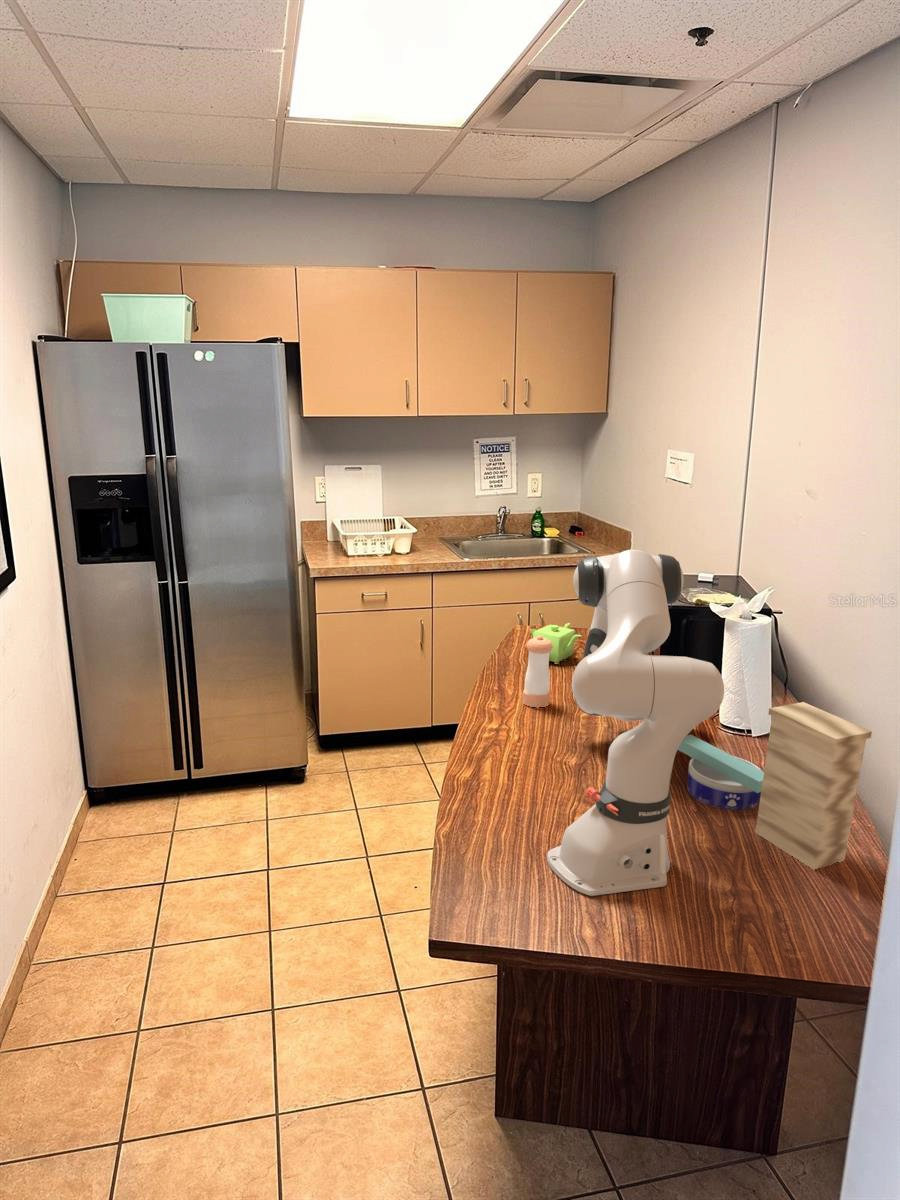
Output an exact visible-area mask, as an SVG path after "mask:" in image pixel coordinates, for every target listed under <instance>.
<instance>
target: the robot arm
mask: <svg viewBox="0 0 900 1200" xmlns="http://www.w3.org/2000/svg"><path fill="white" fill-rule="evenodd" d="M572 585H573V589H574V592H575V595H576V596H577V599H578V600H577V601H578V602H580V604H582V605H583V606H587V607H593V608H594V612H593V616H592V621H591V624H590V627H589V632H588V635H587V639H586V641H585V645H584V652H583V657H582V659H581V660H580V661H579V662H578V663H577V665H576V667H575V668H574V671H573V673H572V679H571V690H572V695H573V696H574V697H573V698H574V701H575V704H576V706H577V708H579V710H580V711H581V712H583V713H584V714H587V715H588V716H589V715H590V716H593V717H608V718H615V719H617V720H619V721H622V722H623V721H624V722H637V721H641V722H640V723H638V725H637V726H635V727H633V728H631V729H629V730H627V731H625V732H623V733H620V734H619V735H618V736H617V737H616V738H614V740H613V742H612V743H611V744H610V745H609V748H608V754H607V765H606V776H605V781H604V782H603V784H602V786H601V788H600V791H598V790H596V789H595V788H594V787H592V786H590V787H588V788H587V789H586V790H585V793H584V794H585V796H586V798H588V799H590V800H591V802H595V803H594V805H593V806H591V807H590V808H589V809H588V810H587V811H585V812H584V813H583V814H582V815H580V817H578V818H577V819H576V820H575V821H573V822H572V823H571V824H570V825H569V826H567V828H566V829H565V830H564V832H563V836H562V839H561V843H560V845H558V846H556V847H554V848H551V849H549V850H548V851H547V853H546V860H547V864H548V866H549V867H550V869H551V870H552V871H553V873H554V874H555V875H556V876H557V877H558V878H559V879H560V880H562V881H563V882H564V883H565V884H566V885H567V886H569V887H571V888H572V889H574V890H576V891H577V892H578V893H582V894H584V895H587V896H589V897H593V896H602V895H609V894H617V893H622V892H623V893H624V892H631V891H639V890H647V889H655V888H662V887H666V886H667V885H668V877H667V873H668V872H669V871H670V868H671V861H670V856H669V852H668V851H669V850H668V839H667V817H668V815H669V814H670V808H671V797H672V794H671V790H670V784H671V778H672V777H671V776H672V771H673V766H674V761H675V757H676V754H677V753H678V751H679V750H678V748H679V746H680V744H681V743H682V741H683V740H684V738H685V737H686V736H688V735H689V733H691V731H693V730H694V728H695V727H697V726H698V725H700V724H701V723H702V722H704V721H705V720H707V719H710V718H711V717H712V716H714V715H715V714H716V712H717V711H718V710H719V709H720V707H721V706H722V703H723V700H724V698H725V697H724V696H725V684H724V680H723V677H722V675H721V673H720V671H719V669H718V668H717V667H716V666H715V665H714V664H713V663H712V662H709V661H707V660H701V659H697V658H694V657H688V656H677V655H675V656H674V655H656V654H650V653H652V652H653V651H655V650H657V649H659V647H660V646H661V645H663V644H664V643H665V642H666V640H667V639H668V637H670V633H671V625H672V624H671V617H670V612H669V611H670V610H669V606H668V605H671V604H675V603H676V602H677V601H678V600H679V599H680V597H681V593H682V591H683V588H684V572H683V569H682V567H681V565H680V562H679V561H678V560H677V559H676V558H675V557H674V556H671V555H668V554H662V553H659V554H657V555H653V554H649V553H648V552H646V551H644V550H641V549H634V548H633V549H627V550H623V551H621V552H617V553H613V554H607V555H601V556H596V555H592V556H587V557H584V558H582V559H580V561H578V563H577V564H576V568H575V569H574V573H573V578H572Z"/></svg>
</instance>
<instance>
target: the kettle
mask: <svg viewBox="0 0 900 1200" xmlns="http://www.w3.org/2000/svg"><path fill="white" fill-rule="evenodd" d="M570 625H571V623H570V622H568V623H565V624H564V626H559V625H557V624H547V625H545V626H543V627H541V628H539V629H536V628H532V629H530V630H529V632H530V633H531V636H532V638H536V637H538V636H542V637H543V638H546V639H548V640H550V641H551V643H552V645H553V648H552V650H551V652H549V662H554V663H559V664H560V662H561V661H564V660H563V659H566V658H567V659H568V658H569V657H571V656H572V655H574V647H575V643H576V641H577V639H578V638H580V637H582V636H583V635H581V634H575V633H576V630H575V629H572V628H569V627H570Z"/></svg>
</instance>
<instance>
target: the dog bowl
mask: <svg viewBox="0 0 900 1200" xmlns="http://www.w3.org/2000/svg"><path fill="white" fill-rule="evenodd" d="M733 756H734V755H733ZM734 757H736V758H738V759H740V760H742V761H744V762H746V763H747V764H749V765H751V766H753V767H755V768H757V769H759V770H761V771H762V769H761V768H760V767H759V766H758V765H756V764H754V763H752V762H750V761H749V760H746V759H745V758H741V757H738V756H734ZM686 783H687V784H686V789H687V792H688V793H689V795H690V796H692V797H693V798H694V799H695V800H696V801H698V802H701V803H702V802H703V804H704V803H705V805H707V806H709V805H710V806H709V807H713V806H714V807H713V808H716V807H717V809H720V808H722V810H726V809H729V810H728V811H745V810H751V809H753V808H755V807H757V806H758V805H759V804H760V797H761V792H759V793H756V792H755V791H753V790H751V789H749V788H747V787H745V786H743V785H742V784H740V783H738V782H736V781H734V780H732V779H731V778H729V777H727V776H725V775H723V774H721V773H720V772H718V771H716V770H714V769H712V768H710V767H709V766H707V765H705V764H703V763H701V762H699V761H698V760H696V759H694V758H692V757H691V759H690V760H689V762H688V771H687V781H686Z"/></svg>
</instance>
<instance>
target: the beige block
mask: <svg viewBox="0 0 900 1200" xmlns="http://www.w3.org/2000/svg"><path fill="white" fill-rule="evenodd" d="M768 715H769V716H771V721H770V728H769V735H768V743H767V749H766V756H765V762H764V763H765V764H764V771H763V772H764V776H763V783H762V790H761V797H760V801H759V803H758V805H759V806H758V812H757V819H756V824H755V832H754V833H755V834H756V835H758V836H760V837H762V839H765V840H766V841H767V842H769V843H770V844H773V846H775V847H777V848H778V849H780V850H781V849H782V851H783V852H785V853H786V854H788V855H789V856H791V857H792V856H793V857H792V858H794V859H795V858H796V860H797V859H798V860H799V861H798V860H797V861H798V862H800V863H802V864H803V863H804V864H803V865H805V866H806V865H807V866H806V867H808V866H809V867H811V868H812V869H814V870H813V871H816V870H815V869H817V870H819V869H818V868H820V869H822V868H821V867H823V868H825V867H824V866H827V865H830V864H833V863H835V862H839V861H841V860H845V861H846V855H847V850H848V849H847V848H848V843H849V839H850V838H849V837H850V833H851V826H852V819H853V816H854V815H853V814H854V810H855V804H856V798H857V792H858V786H859V782H860V781H859V779H860V775H861V770H862V764H863V758H864V753H865V748H866V741H867V739H871V738H872V733H873V732H872V731H871V730H869V729H866V728H864V727H862V726H860V725H858V724H855V723H853V722H850V721H848V720H846V719H844V718H842V717H839V716H838V715H835V714H832V713H829V712H828V711H825V710H824V709H821V708H818V707H816V706H813V705H811V704H809V703H807V702H804V701H802V702H797V703H796V702H795V703H792V704H785V705H781V706H774V707H769V708H768ZM833 865H834V864H833ZM830 866H831V865H830ZM809 867H808V868H809ZM827 867H828V866H827ZM811 868H810V869H811ZM812 869H811V870H812Z"/></svg>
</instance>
